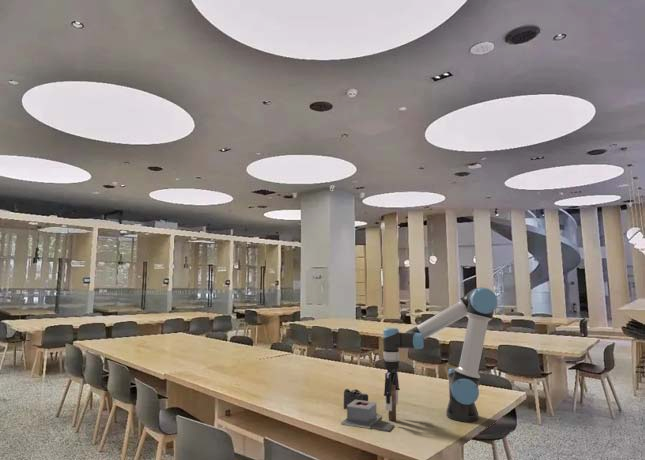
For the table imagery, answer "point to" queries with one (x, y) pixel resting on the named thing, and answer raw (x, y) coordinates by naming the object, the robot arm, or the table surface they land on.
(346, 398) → the camera
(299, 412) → the table surface
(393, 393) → the walnut dowel
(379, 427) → the rubber mat
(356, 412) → the box
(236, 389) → the table surface
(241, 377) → the table surface
